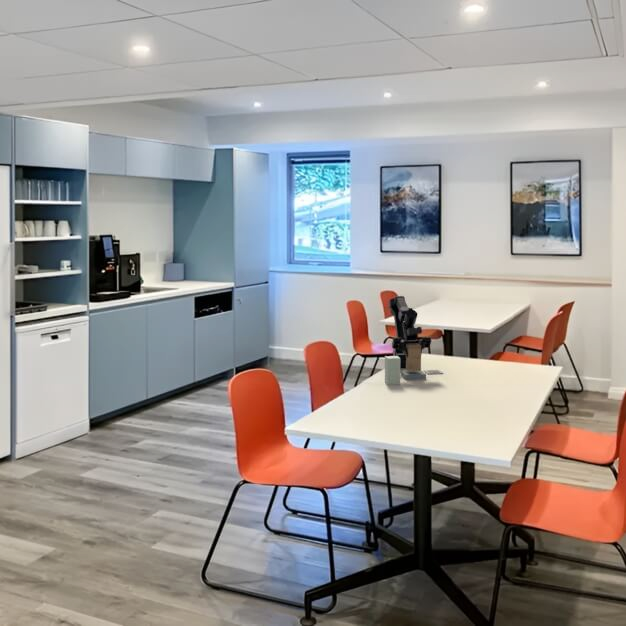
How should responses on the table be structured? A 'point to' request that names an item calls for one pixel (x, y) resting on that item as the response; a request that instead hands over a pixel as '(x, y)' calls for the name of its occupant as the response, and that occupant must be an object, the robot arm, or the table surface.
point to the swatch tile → (433, 372)
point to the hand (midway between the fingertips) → (414, 356)
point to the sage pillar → (392, 370)
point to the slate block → (413, 375)
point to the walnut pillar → (413, 357)
